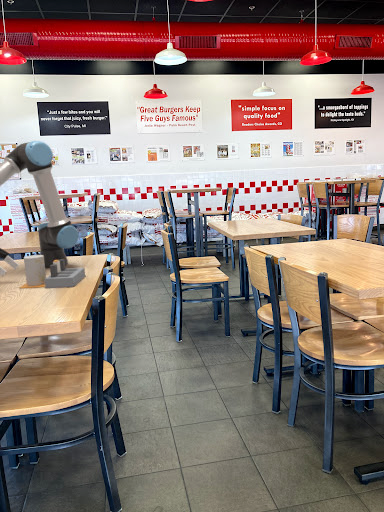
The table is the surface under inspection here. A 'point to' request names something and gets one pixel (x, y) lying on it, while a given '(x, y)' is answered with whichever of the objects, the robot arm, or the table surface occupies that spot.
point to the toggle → (57, 265)
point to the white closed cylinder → (35, 270)
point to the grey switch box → (64, 276)
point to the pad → (32, 286)
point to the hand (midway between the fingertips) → (11, 270)
